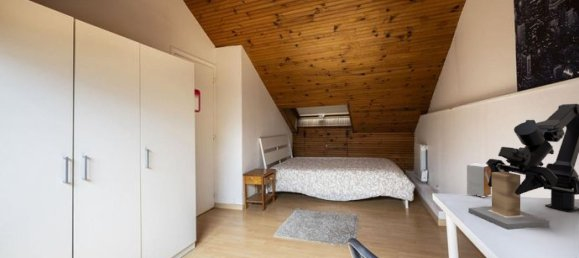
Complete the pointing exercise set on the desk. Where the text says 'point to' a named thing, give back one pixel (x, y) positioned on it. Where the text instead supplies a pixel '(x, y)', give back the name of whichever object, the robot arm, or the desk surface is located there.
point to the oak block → (505, 193)
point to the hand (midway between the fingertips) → (501, 189)
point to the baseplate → (509, 218)
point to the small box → (478, 179)
